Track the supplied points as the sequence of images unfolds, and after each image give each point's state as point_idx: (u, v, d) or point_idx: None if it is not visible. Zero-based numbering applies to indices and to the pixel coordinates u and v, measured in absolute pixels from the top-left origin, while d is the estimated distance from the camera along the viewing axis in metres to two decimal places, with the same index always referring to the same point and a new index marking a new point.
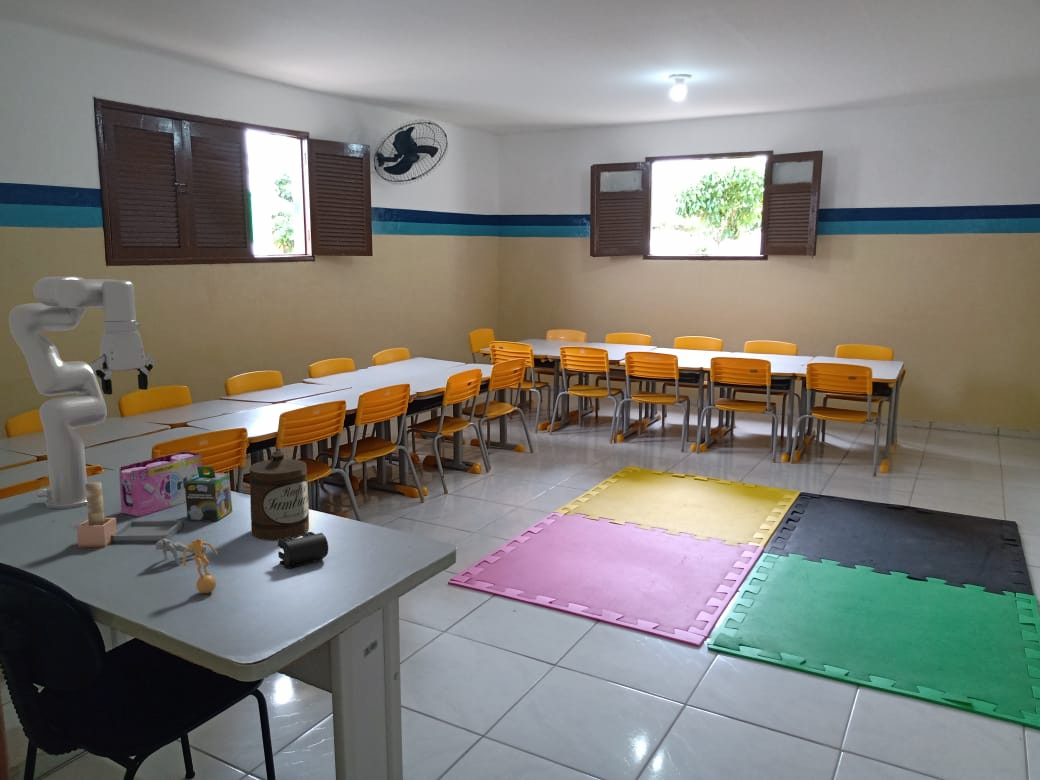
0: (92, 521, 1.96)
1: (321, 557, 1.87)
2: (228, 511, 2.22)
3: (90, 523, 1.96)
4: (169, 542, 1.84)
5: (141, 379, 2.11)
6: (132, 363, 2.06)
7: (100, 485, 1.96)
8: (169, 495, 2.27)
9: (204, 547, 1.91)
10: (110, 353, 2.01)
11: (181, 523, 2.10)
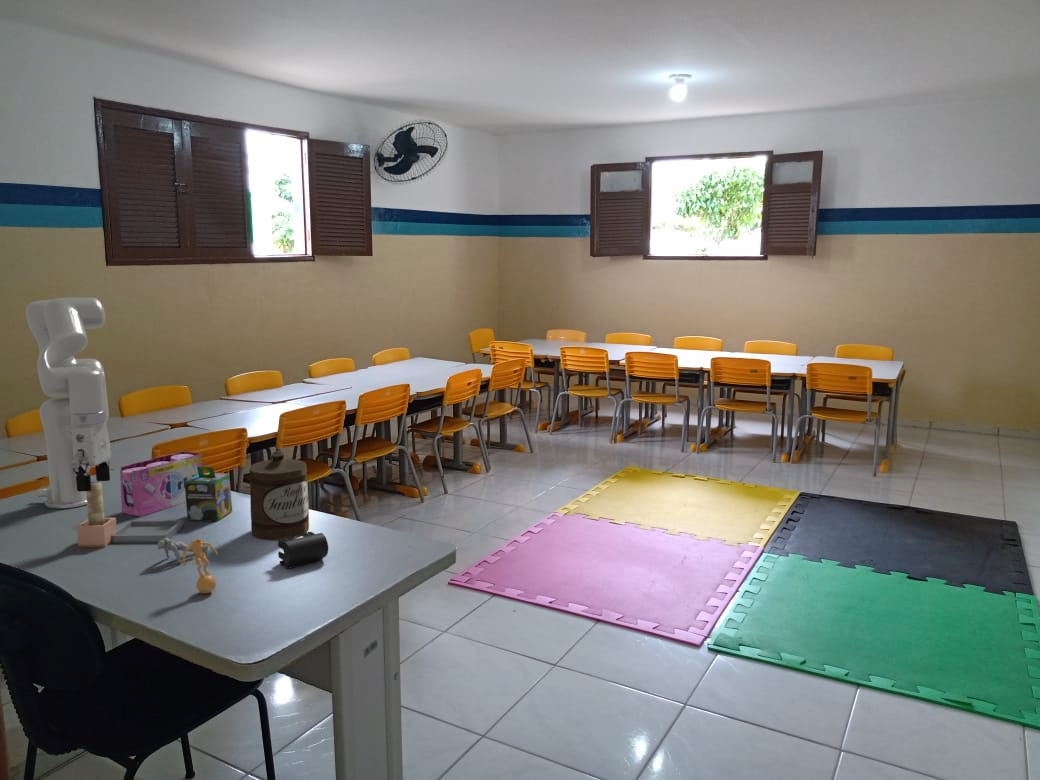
0: (92, 521, 1.96)
1: (321, 557, 1.87)
2: (228, 511, 2.22)
3: (90, 523, 1.96)
4: (171, 541, 1.85)
5: None
6: None
7: (100, 485, 1.96)
8: (169, 495, 2.27)
9: (206, 546, 1.92)
10: None
11: (181, 523, 2.10)
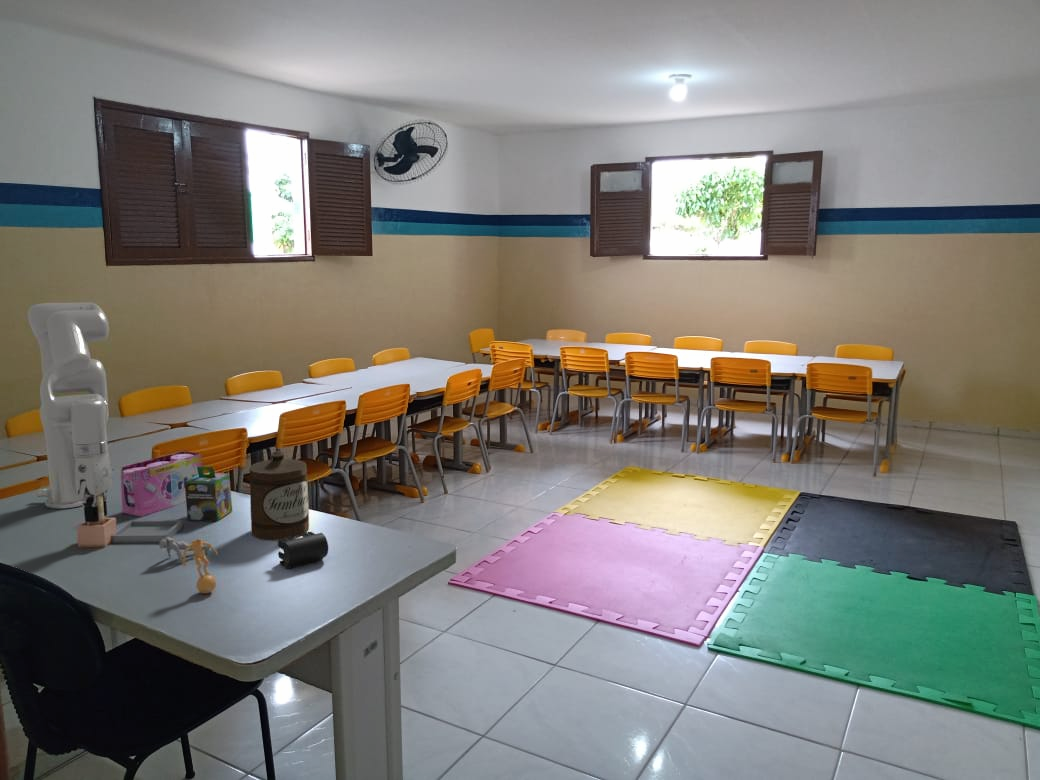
0: None
1: (321, 557, 1.87)
2: (228, 511, 2.22)
3: (90, 523, 1.96)
4: (173, 541, 1.85)
5: None
6: None
7: None
8: (170, 495, 2.28)
9: (208, 546, 1.92)
10: None
11: (181, 523, 2.10)
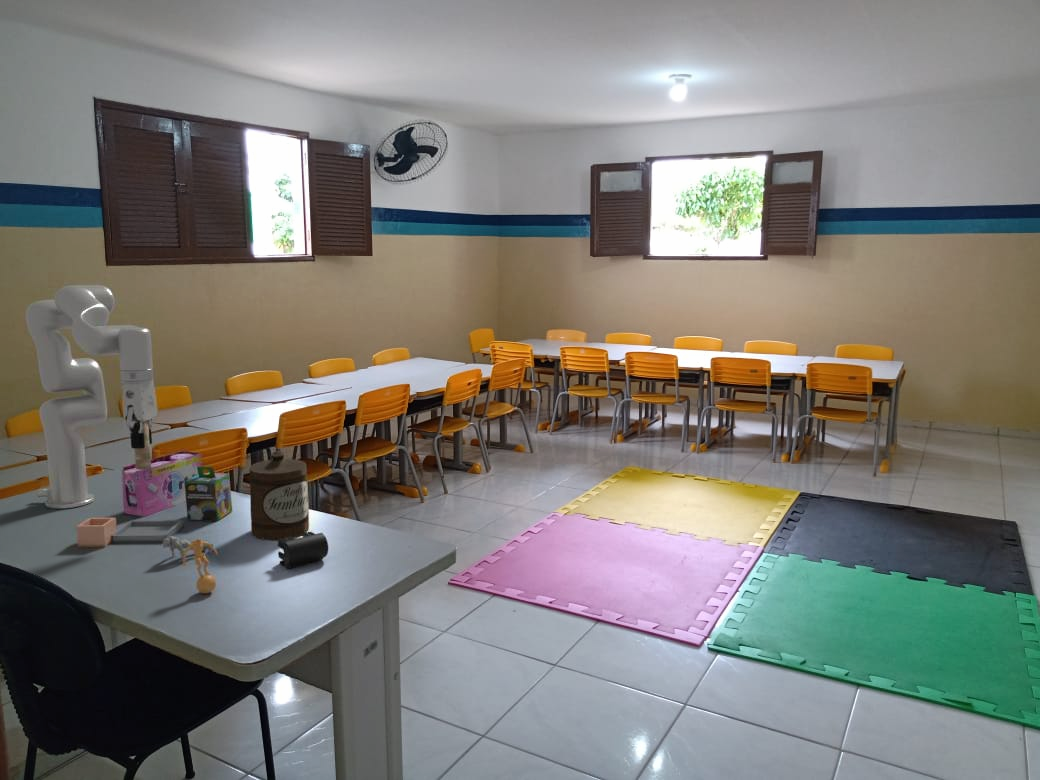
0: (138, 448, 2.00)
1: (321, 557, 1.87)
2: (228, 511, 2.22)
3: (136, 450, 2.00)
4: (176, 540, 1.86)
5: None
6: None
7: None
8: (171, 494, 2.28)
9: (211, 545, 1.93)
10: None
11: (181, 523, 2.10)
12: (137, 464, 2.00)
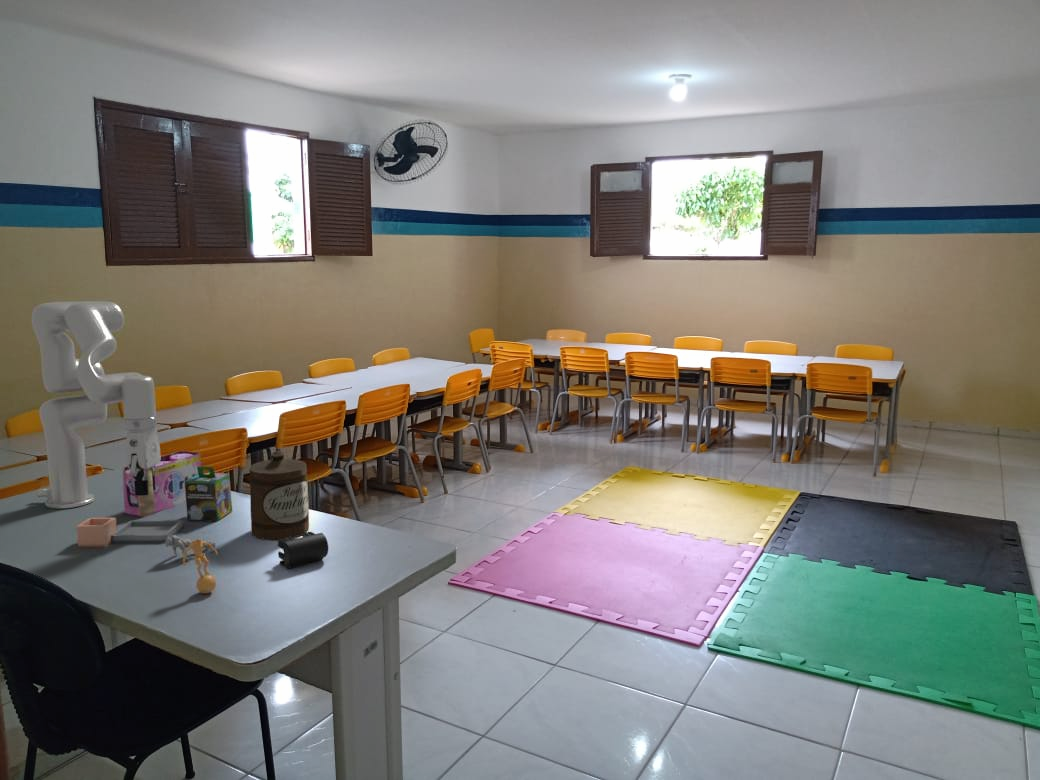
0: (142, 495, 2.02)
1: (321, 557, 1.87)
2: (228, 511, 2.22)
3: (140, 497, 2.02)
4: (178, 539, 1.86)
5: None
6: None
7: None
8: (172, 494, 2.28)
9: (213, 544, 1.93)
10: None
11: (181, 523, 2.10)
12: (141, 511, 2.02)
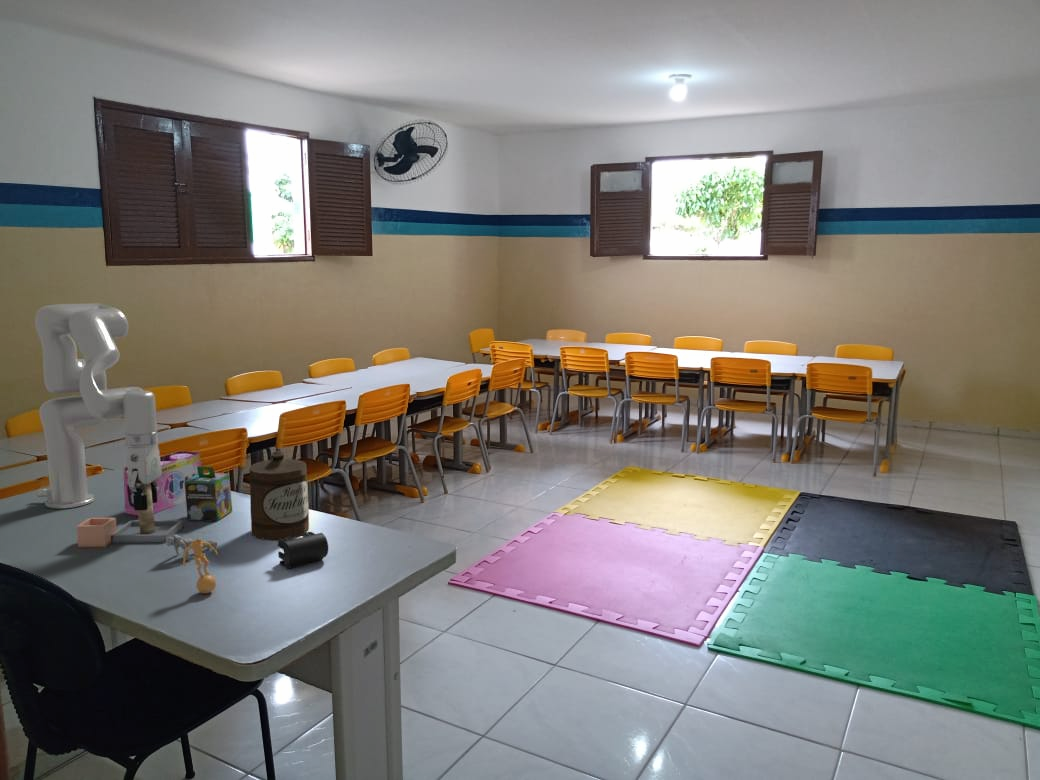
0: (142, 514, 2.02)
1: (321, 557, 1.87)
2: (228, 511, 2.22)
3: (140, 515, 2.03)
4: (180, 538, 1.87)
5: None
6: None
7: None
8: (172, 494, 2.28)
9: (215, 544, 1.94)
10: None
11: (181, 523, 2.10)
12: (141, 529, 2.03)
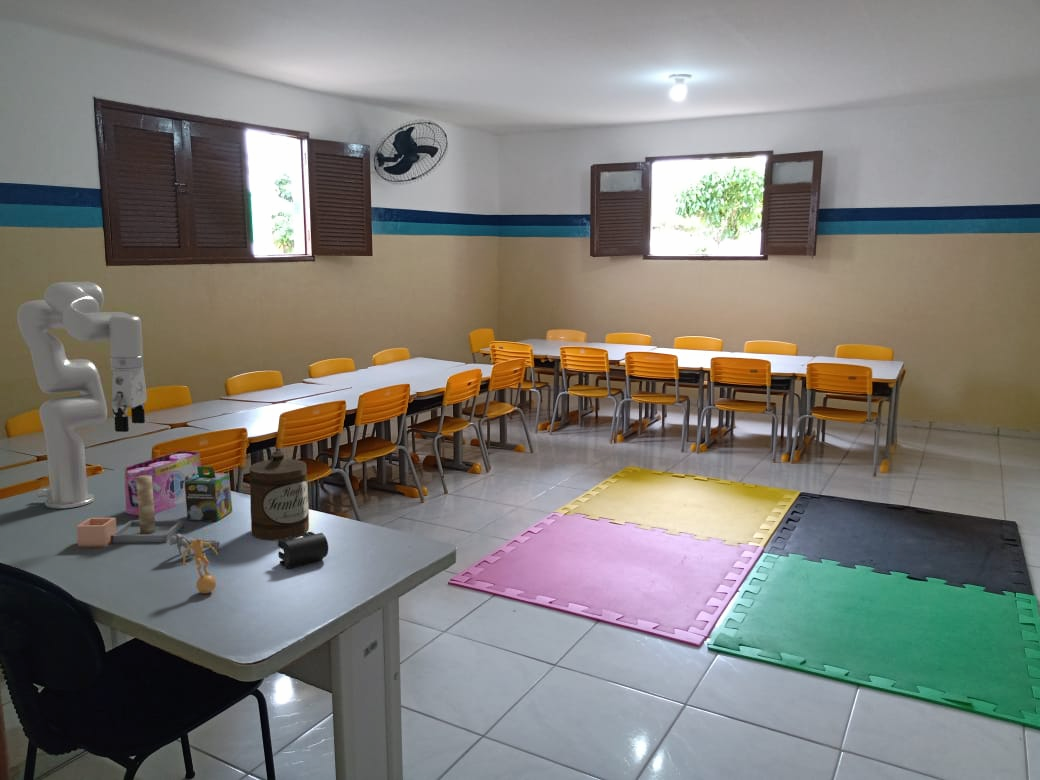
0: (142, 514, 2.02)
1: (321, 557, 1.87)
2: (228, 511, 2.22)
3: (141, 515, 2.03)
4: (182, 537, 1.87)
5: None
6: None
7: (150, 478, 2.03)
8: (173, 494, 2.28)
9: (217, 543, 1.94)
10: None
11: (181, 523, 2.10)
12: (142, 529, 2.03)
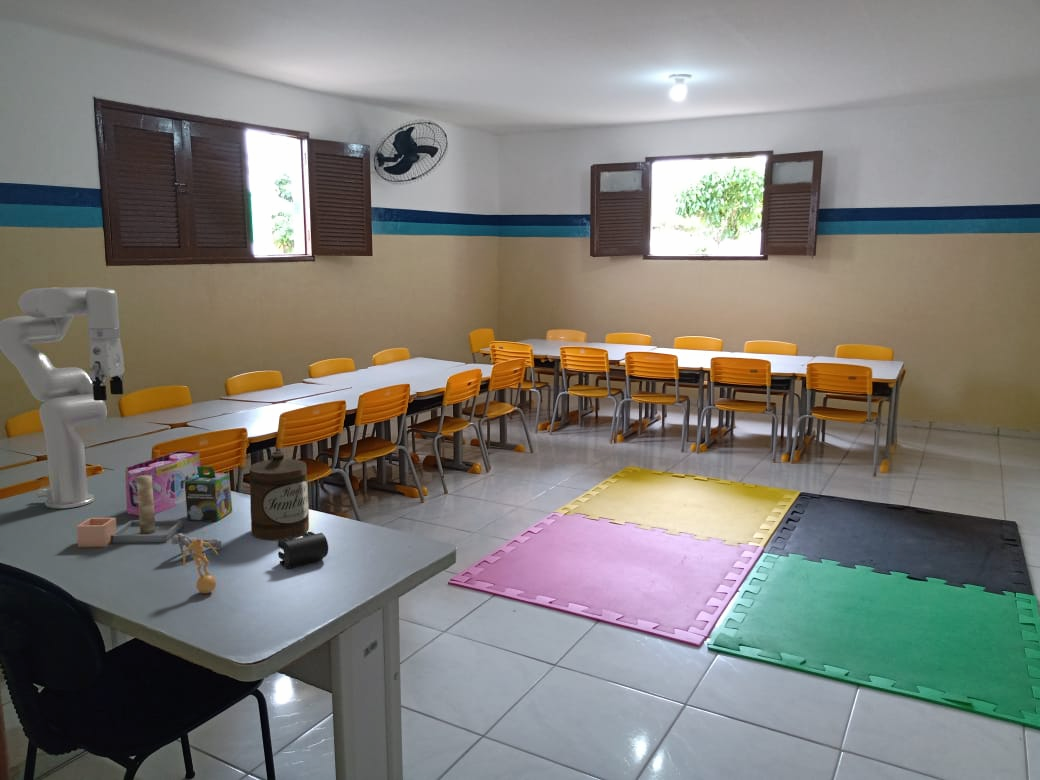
0: (142, 514, 2.02)
1: (321, 557, 1.87)
2: (228, 511, 2.22)
3: (141, 515, 2.03)
4: (184, 537, 1.88)
5: None
6: None
7: (150, 478, 2.03)
8: (174, 494, 2.28)
9: (219, 542, 1.95)
10: None
11: (181, 523, 2.10)
12: (142, 529, 2.03)
